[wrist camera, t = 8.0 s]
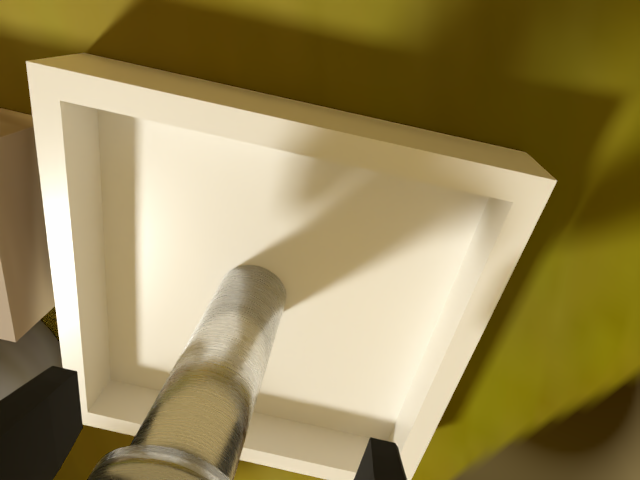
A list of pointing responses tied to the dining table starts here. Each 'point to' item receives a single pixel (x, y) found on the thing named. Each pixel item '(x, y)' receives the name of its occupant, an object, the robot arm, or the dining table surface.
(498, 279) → the tray
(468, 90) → the dining table surface
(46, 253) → the block
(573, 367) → the dining table surface
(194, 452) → the pin
